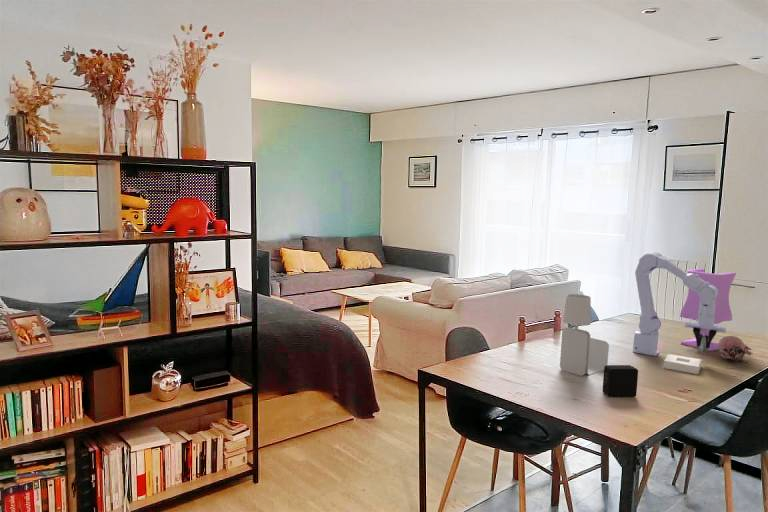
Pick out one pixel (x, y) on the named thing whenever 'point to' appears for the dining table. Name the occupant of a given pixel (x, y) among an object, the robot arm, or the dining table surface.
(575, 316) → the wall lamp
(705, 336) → the peg
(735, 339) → the toy
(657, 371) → the dining table surface
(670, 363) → the socket block
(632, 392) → the electronic device
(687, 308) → the pink table lamp
